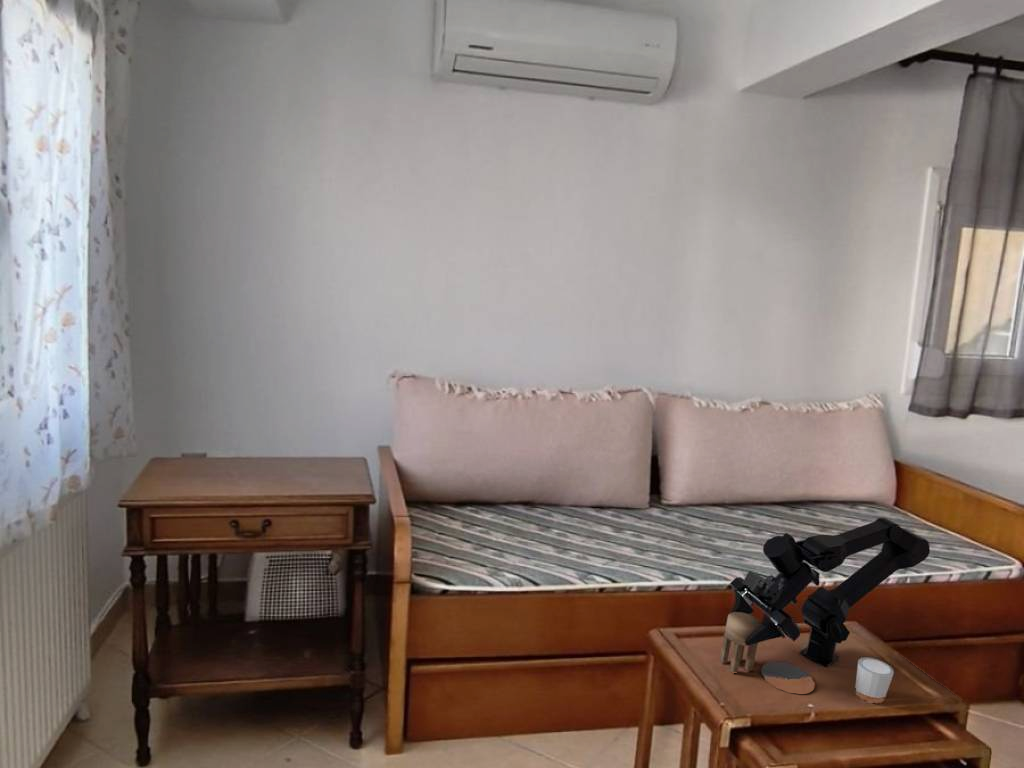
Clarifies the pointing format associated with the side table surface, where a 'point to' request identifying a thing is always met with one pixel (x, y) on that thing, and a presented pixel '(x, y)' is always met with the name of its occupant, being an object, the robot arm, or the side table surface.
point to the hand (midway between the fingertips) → (736, 635)
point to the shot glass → (873, 677)
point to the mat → (783, 671)
